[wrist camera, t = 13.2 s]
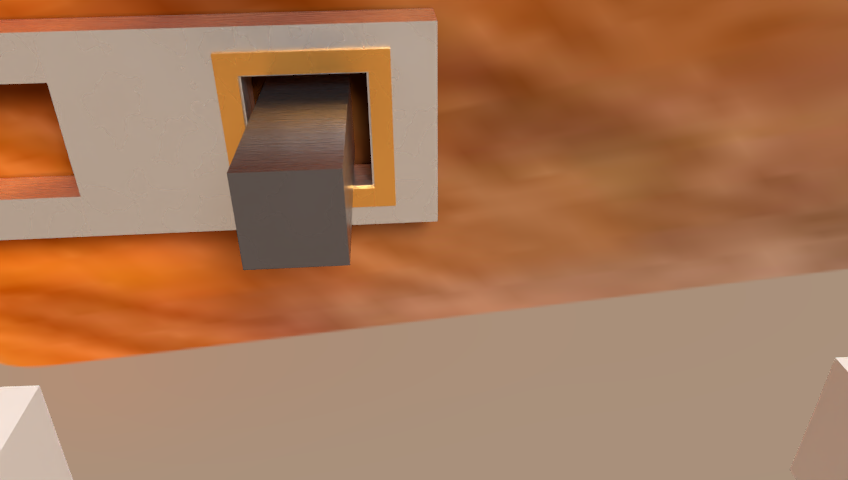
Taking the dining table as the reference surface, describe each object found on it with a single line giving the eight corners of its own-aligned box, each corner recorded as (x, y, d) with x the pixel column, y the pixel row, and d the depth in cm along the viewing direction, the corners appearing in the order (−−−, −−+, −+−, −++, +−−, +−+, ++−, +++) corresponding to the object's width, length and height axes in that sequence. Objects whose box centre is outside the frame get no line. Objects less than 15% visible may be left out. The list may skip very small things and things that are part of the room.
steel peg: (266, 77, 33) (226, 173, 24) (349, 74, 34) (342, 168, 24) (276, 153, 35) (243, 270, 26) (355, 150, 36) (350, 265, 26)
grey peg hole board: (-147, 23, 31) (-189, 39, 29) (432, 8, 32) (437, 21, 30) (-64, 219, 36) (-94, 246, 34) (433, 198, 37) (437, 223, 35)
